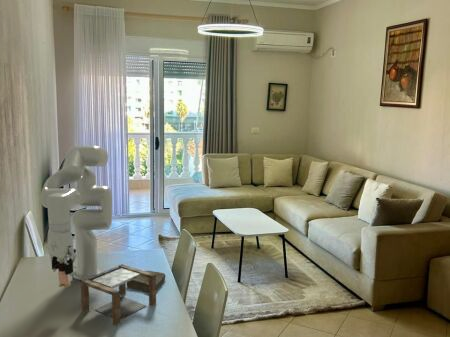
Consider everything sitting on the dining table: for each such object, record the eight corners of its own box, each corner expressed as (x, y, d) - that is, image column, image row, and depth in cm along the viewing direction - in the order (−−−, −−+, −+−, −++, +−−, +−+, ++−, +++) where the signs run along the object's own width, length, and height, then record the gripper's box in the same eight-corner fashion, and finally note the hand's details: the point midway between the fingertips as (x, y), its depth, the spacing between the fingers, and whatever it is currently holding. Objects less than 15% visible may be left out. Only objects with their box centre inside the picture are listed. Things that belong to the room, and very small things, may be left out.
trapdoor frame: (81, 311, 167) (80, 280, 165) (122, 292, 184) (121, 264, 182) (116, 326, 156) (115, 293, 154) (156, 304, 173) (155, 274, 172)
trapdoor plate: (87, 281, 167) (87, 278, 167) (117, 269, 180) (117, 266, 180) (111, 289, 160) (110, 286, 160) (139, 276, 172) (139, 273, 172)
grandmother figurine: (75, 283, 166) (73, 252, 163) (71, 288, 162) (69, 256, 159) (55, 282, 166) (53, 251, 163) (51, 287, 162) (49, 255, 160)
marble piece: (154, 295, 183) (153, 285, 182) (122, 291, 186) (121, 282, 185) (168, 279, 199) (167, 271, 198) (138, 276, 202) (138, 268, 201)
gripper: (36, 224, 161) (40, 268, 164) (65, 233, 152) (68, 280, 155) (54, 219, 167) (57, 262, 170) (83, 228, 158) (85, 273, 161)
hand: (62, 270), depth 163 cm, fingers closed on grandmother figurine, 7 cm apart
